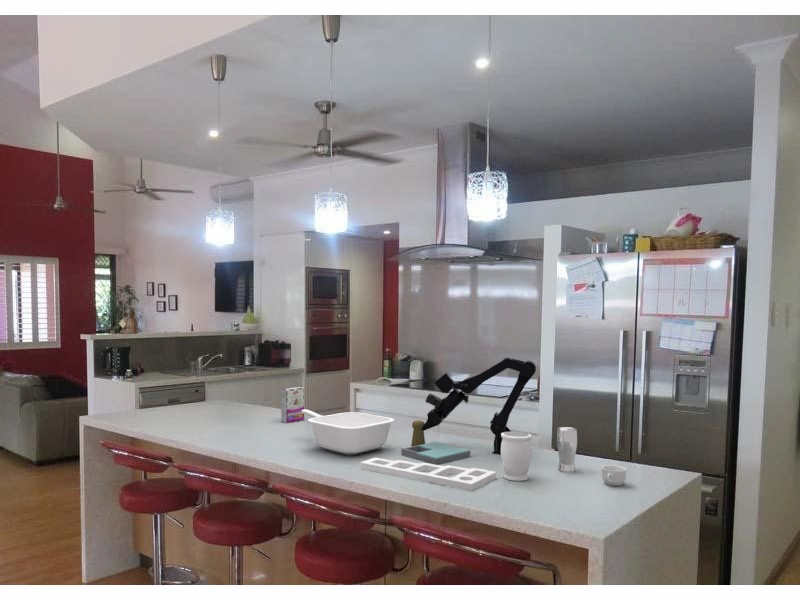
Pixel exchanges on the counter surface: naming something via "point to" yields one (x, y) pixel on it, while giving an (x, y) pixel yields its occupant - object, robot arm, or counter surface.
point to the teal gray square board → (435, 452)
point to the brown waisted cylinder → (418, 433)
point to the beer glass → (566, 448)
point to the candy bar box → (292, 404)
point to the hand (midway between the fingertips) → (424, 427)
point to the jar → (516, 455)
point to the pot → (349, 431)
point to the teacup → (613, 475)
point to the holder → (432, 472)
